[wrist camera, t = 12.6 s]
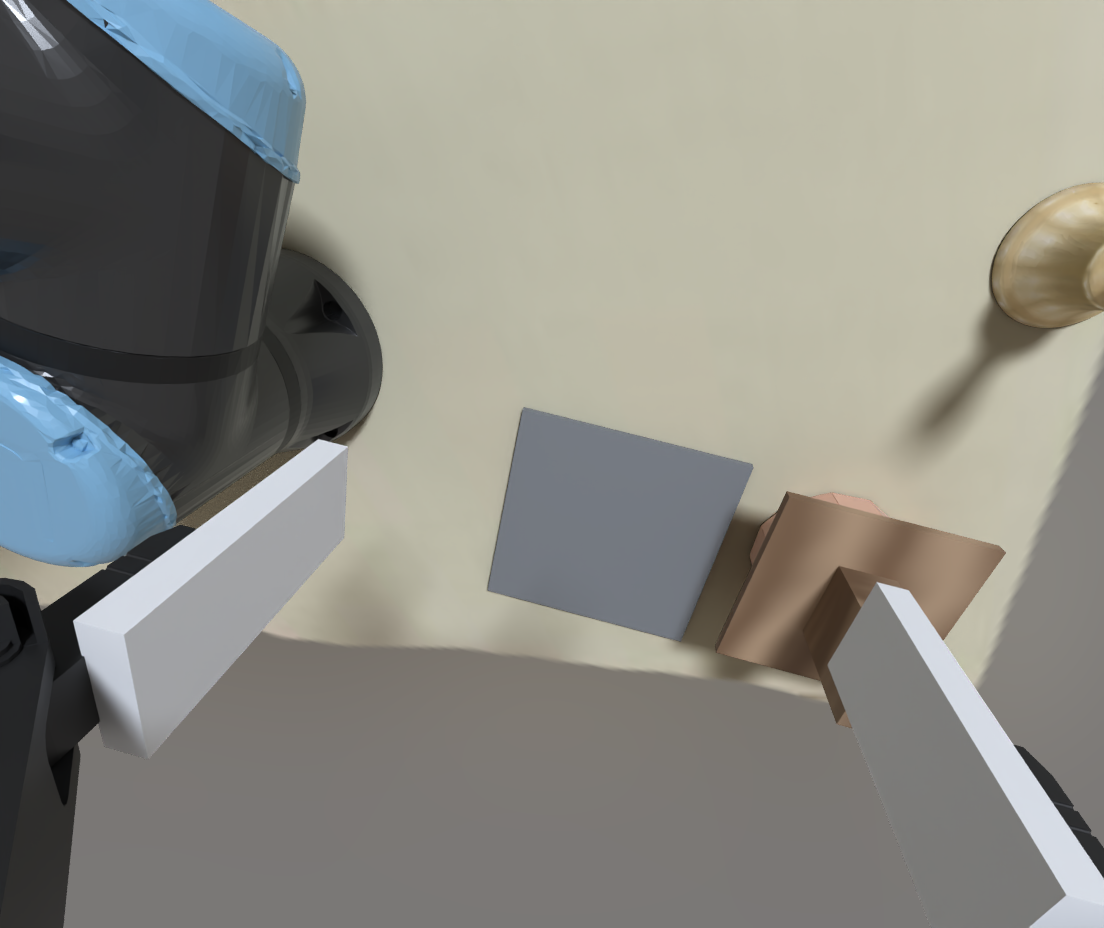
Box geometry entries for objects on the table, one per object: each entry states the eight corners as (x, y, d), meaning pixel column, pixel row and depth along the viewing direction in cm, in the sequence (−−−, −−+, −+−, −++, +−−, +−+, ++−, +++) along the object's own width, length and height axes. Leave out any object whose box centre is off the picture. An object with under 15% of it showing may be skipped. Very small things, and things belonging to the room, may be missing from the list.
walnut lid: (715, 645, 43) (730, 744, 35) (786, 491, 37) (825, 570, 29) (894, 693, 42) (951, 805, 35) (998, 545, 36) (1097, 641, 28)
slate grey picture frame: (489, 586, 51) (487, 590, 51) (524, 407, 43) (522, 409, 43) (680, 636, 51) (680, 641, 50) (752, 464, 43) (753, 467, 42)
